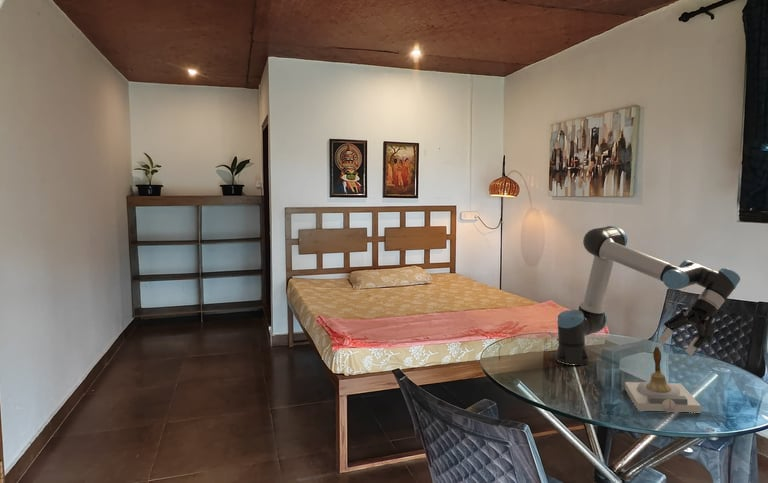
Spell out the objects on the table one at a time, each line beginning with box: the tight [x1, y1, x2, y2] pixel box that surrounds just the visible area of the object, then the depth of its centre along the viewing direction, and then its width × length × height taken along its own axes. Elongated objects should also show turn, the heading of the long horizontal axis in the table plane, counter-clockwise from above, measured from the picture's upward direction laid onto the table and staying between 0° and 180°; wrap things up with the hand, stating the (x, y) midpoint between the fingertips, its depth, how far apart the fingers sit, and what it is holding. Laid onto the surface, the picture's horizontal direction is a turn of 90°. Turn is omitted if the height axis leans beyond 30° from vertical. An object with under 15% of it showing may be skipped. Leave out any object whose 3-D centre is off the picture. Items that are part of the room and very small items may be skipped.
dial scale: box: [624, 380, 702, 414], centre depth 180 cm, size 20×20×5 cm
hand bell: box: [646, 346, 671, 393], centre depth 181 cm, size 8×8×16 cm
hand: (673, 347), depth 181 cm, fingers open, 13 cm apart
